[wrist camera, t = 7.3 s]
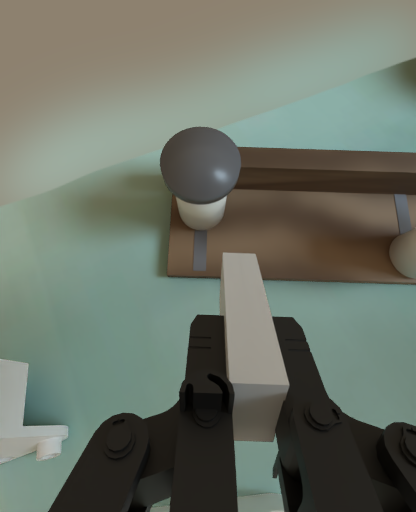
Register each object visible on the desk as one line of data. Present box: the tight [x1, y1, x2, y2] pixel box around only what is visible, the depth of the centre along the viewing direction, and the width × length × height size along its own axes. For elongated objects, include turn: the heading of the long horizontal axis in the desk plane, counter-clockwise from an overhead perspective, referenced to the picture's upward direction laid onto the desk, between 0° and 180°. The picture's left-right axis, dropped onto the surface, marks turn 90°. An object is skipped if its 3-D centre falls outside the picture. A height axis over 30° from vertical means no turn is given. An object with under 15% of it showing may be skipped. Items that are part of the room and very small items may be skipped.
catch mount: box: [167, 147, 416, 285], centre depth 26 cm, size 11×26×5 cm, turn 88°
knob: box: [160, 127, 241, 230], centre depth 23 cm, size 6×6×8 cm
